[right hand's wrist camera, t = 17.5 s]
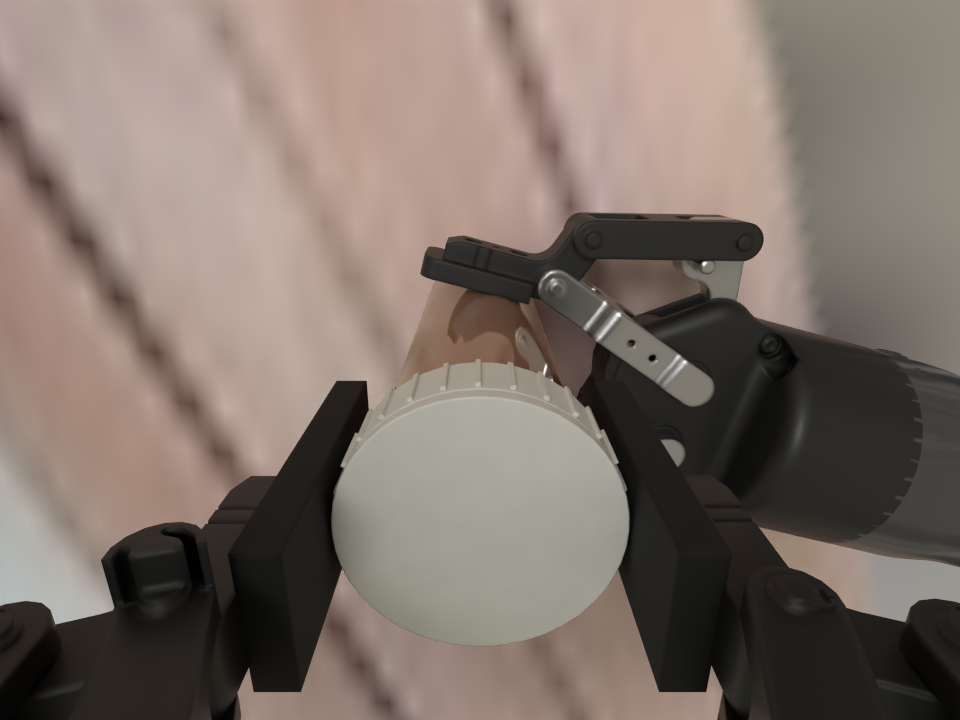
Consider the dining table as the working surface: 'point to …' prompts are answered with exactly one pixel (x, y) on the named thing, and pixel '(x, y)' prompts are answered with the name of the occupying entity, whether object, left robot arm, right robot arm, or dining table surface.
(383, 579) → the lid
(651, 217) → the left robot arm
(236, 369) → the dining table surface
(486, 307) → the jar
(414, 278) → the dining table surface
